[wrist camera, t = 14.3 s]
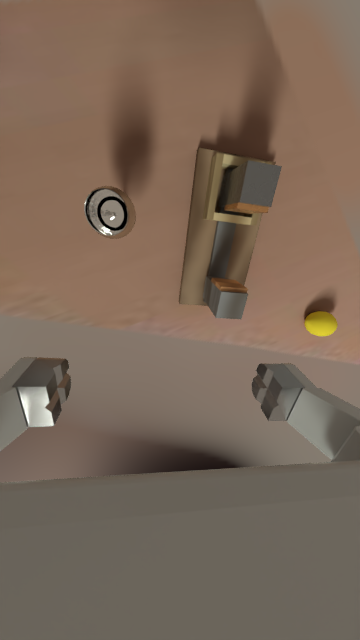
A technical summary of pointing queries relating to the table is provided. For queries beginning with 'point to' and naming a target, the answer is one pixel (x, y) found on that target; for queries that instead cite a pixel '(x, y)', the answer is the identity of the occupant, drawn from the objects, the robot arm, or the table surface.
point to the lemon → (320, 323)
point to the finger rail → (217, 240)
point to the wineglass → (110, 212)
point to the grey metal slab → (249, 187)
